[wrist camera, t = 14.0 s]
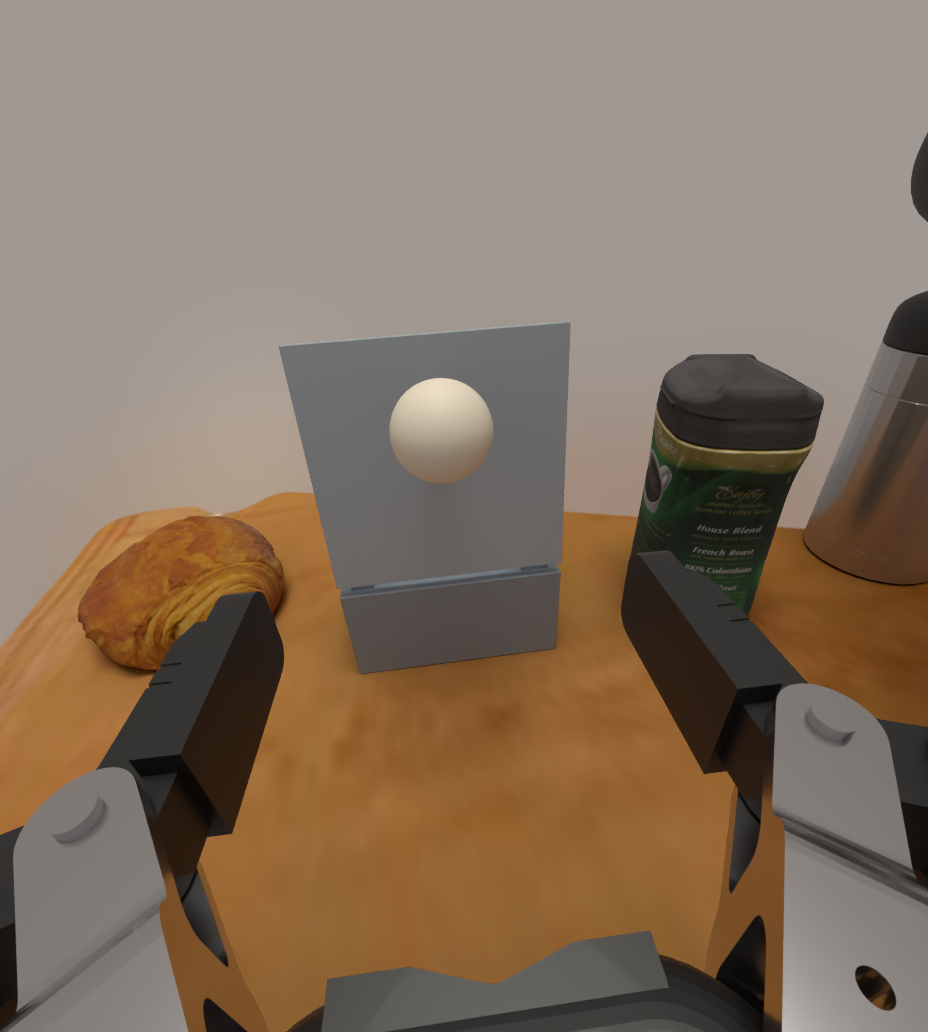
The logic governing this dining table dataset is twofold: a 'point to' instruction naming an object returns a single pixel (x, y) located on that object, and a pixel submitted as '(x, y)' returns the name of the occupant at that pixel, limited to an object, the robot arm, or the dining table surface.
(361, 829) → the dining table surface
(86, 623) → the croissant
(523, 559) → the lid
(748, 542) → the coffee jar
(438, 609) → the grey box
